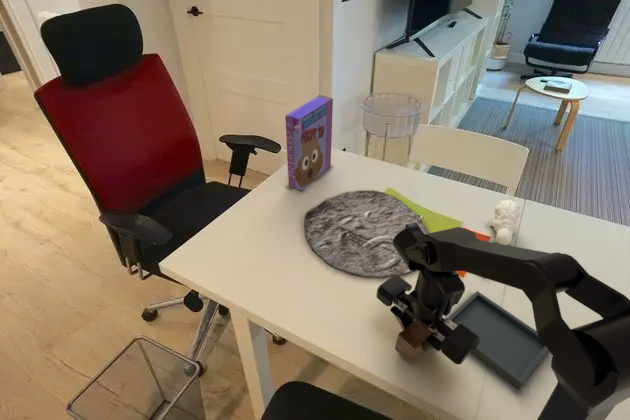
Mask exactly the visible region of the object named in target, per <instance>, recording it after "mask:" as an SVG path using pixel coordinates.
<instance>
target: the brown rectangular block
mask: <svg viewBox="0 0 630 420" xmlns="http://www.w3.org/2000/svg"><path fill="white" fill-rule="evenodd" d="M432 333H433V332H432V331H431V330H430V329H429V328H428V329H426V328H424V327H423V326H422V325H421V324H420V323H418V322H417V321H416V320H415V319H414V321H413V322H412V323H411V324H410V325H409V326H407V327H406V328H405V329H404V330H403V329H402V331H400V332H399V333H398V334H397V338H396V341H395V345H394V349H395V350H394V351H396V352H397V353H398V354H400V355H401V356H402V358H404V359H405V360H406V361H407V362H408V363H409V364H412V363H413V362H414V361H415V360H416V359H418V358H419V357H420V356H421V355H422V354H423V353H424V352H425V351H424V350H423V345H424V342H425V339H426V338H427V337H428V336H430V335H431V334H432Z"/></svg>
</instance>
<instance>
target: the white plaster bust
mask: <svg viewBox="0 0 630 420" xmlns="http://www.w3.org/2000/svg"><path fill="white" fill-rule="evenodd" d="M493 212H494V218H492V219H491V220H490V224H489V226H490V227H493V229H494V231H495V232H496V234H495V236H492V238H493V239H494V240H493V241H494V242H495V243H497V244H503V245H510V244H511V243H512V242H513V234H515V233H516V232H517V230H518V224H517V223H518V218H520V216H521V214H522V212H521V207H520V204H519V203H517V202H515V201H514V200H509V199H505V200H501V201H500V202H498V203H497V204H495V206H494V211H493Z"/></svg>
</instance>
